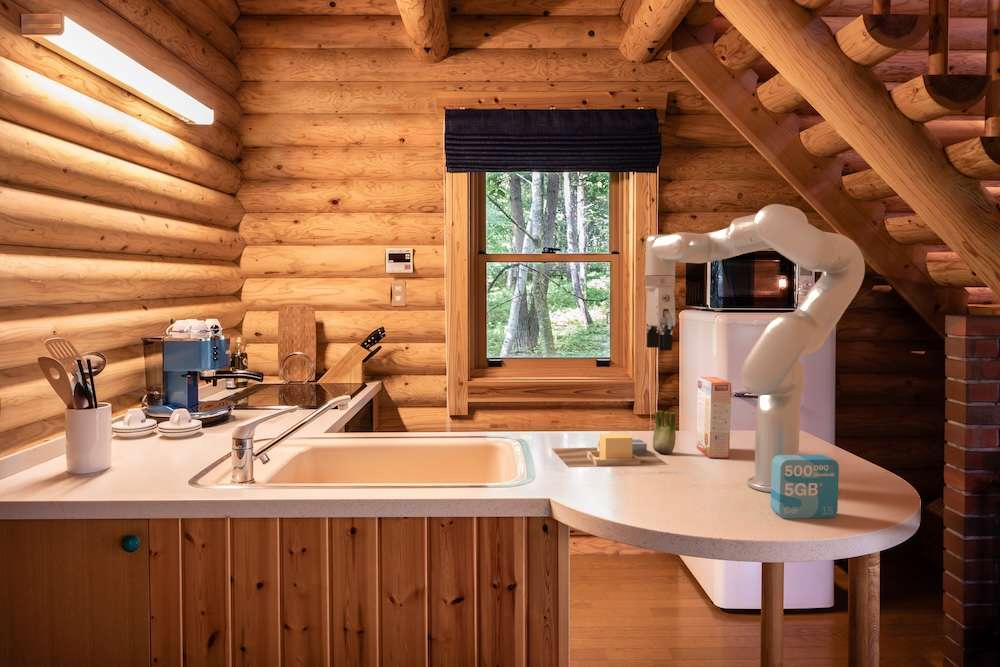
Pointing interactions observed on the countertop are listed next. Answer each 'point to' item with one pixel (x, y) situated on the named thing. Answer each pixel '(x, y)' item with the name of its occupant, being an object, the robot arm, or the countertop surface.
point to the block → (615, 446)
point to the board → (591, 459)
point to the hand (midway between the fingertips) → (658, 348)
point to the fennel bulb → (664, 433)
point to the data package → (804, 486)
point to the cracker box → (714, 417)
